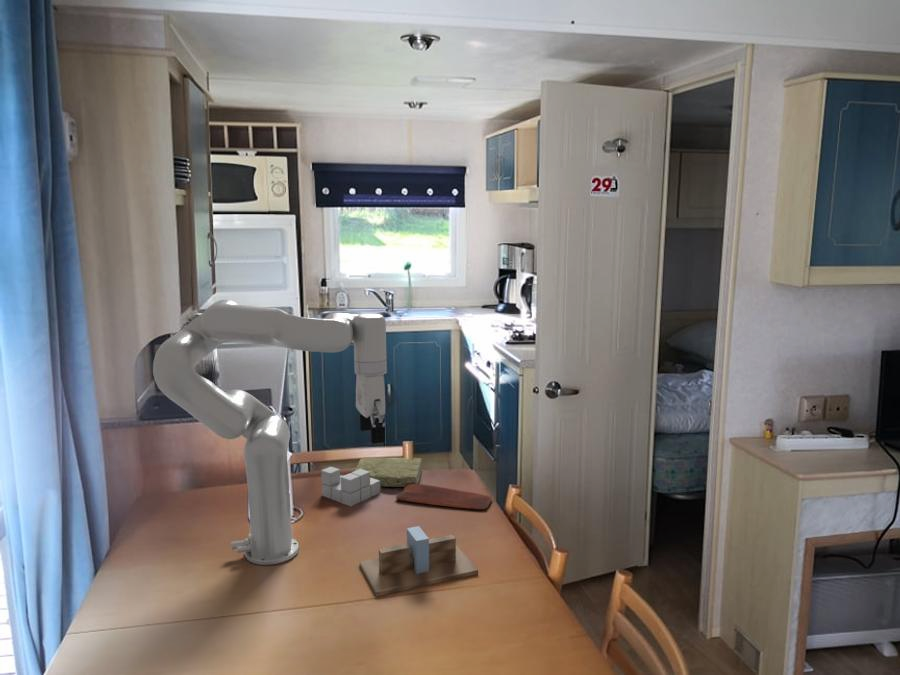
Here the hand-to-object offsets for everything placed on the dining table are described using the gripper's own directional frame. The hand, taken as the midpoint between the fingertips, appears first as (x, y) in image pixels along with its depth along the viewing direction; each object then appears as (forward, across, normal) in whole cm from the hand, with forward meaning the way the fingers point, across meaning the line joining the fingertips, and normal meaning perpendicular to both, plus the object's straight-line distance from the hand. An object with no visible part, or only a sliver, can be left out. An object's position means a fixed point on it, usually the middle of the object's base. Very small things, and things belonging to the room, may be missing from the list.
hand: (372, 436), depth 163 cm
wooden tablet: (+28, -18, +26) cm, 42 cm away
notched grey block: (+27, +15, +6) cm, 32 cm away
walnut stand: (+28, +15, +6) cm, 33 cm away
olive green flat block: (+28, -40, +16) cm, 51 cm away
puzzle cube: (+29, -32, +2) cm, 43 cm away
